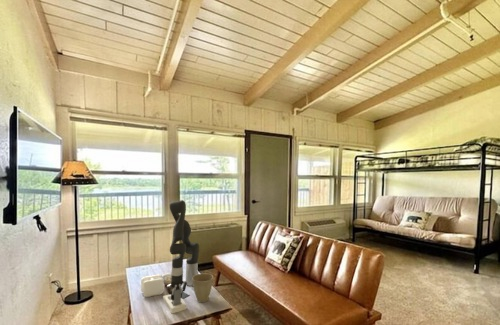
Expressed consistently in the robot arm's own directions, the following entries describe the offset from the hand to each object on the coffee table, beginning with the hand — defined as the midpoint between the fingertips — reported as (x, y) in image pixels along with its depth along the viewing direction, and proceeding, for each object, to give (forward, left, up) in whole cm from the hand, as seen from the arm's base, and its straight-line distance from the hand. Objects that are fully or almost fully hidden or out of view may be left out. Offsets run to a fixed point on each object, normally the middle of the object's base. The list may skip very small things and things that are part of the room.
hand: (176, 298), depth 172 cm
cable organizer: (+9, -29, -6) cm, 31 cm away
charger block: (0, 0, -2) cm, 2 cm away
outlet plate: (0, -4, -6) cm, 7 cm away
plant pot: (-19, 0, -6) cm, 20 cm away
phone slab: (-9, -15, -6) cm, 19 cm away
